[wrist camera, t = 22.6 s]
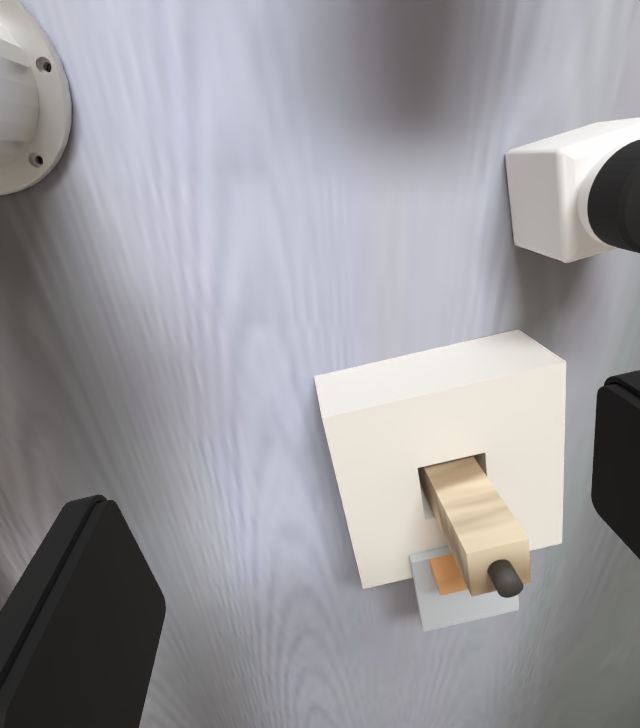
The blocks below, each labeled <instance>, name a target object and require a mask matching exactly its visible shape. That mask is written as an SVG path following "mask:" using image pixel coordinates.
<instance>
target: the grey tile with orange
mask: <svg viewBox="0 0 640 728" xmlns="http://www.w3.org/2000/svg"><path fill="white" fill-rule="evenodd" d="M409 558H410V563H411V569H412V575H413V581H414V587H415V593H416V598H417V604H418V610H419V616H420V622H421V626H422V629H423V632H425V631H430V630H434V629H438V628H443V627H447V626H451V625H456V624H460V623H464V622H469V621H473V620H477V619H482V618H486V617H490V616H495V615H499V614H503V613H508V612H512V611H516V610H519V602H518V595H516V596H514V597H510V598H504V597H501V596H500V595H499V594H498V592H497V591H494V592H490V593H486V594H482V595H477V596H473V597H472V596H471V594H470V592H469V590H468V588H467V586H466V583H465V581H464V579H463V577H462V575H461V572H460V570H459V568H458V566H457V564H456V561H455V559H454V557H453V555H452V553H451V551H450V548H449V546H448V547H443V548H439V549H435V550H430V551H426V552H422V553H417V554H413V555H409Z"/></svg>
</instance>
